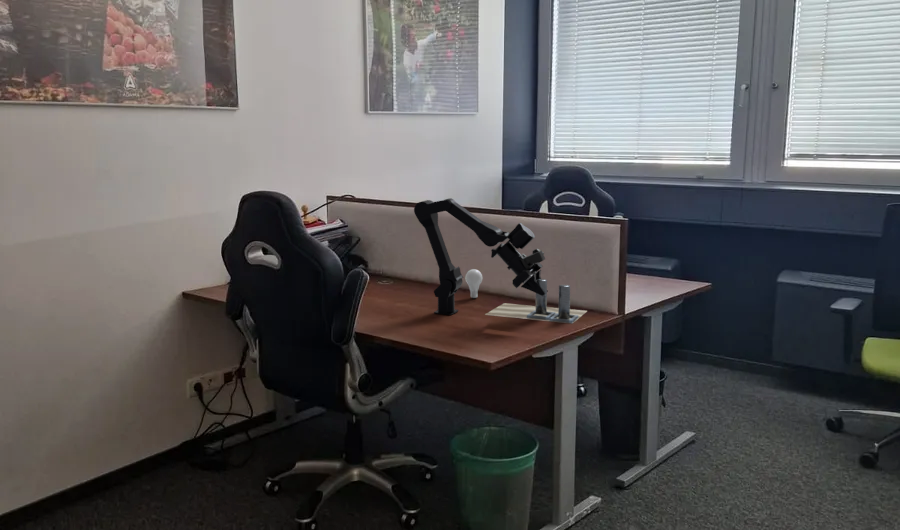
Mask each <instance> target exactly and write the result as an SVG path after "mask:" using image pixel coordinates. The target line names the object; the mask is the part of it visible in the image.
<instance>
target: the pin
mask: <svg viewBox="0 0 900 530" xmlns="http://www.w3.org/2000/svg"><path fill="white" fill-rule="evenodd" d="M536 281H537V282H538V284H539V285H540V287H541V288H542V289H543V291H544V293H545V295H543V296H542V295H539V294H537V293H535V306H536V314H546V313H547V307H548V305H547V304H548V292H547V290H548V279H545V278H541V279H536Z"/></svg>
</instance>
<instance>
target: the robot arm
mask: <svg viewBox="0 0 900 530" xmlns="http://www.w3.org/2000/svg"><path fill="white" fill-rule="evenodd" d="M442 212H447V213H448V214H449V215H451V216H452V217H453V218H455V219H456V220H458V221H459V222H460V223H462V224H463V225H464V226H466V227H468V228H469V229H470V230H471V231H473V232H474V233H475V235H476V236H477V238H478V239H479V240H480V241H481V242H482V243H483V244H484V245H485V246H487V247H491V250H490V251H491V258H492V259H493V258H495V257H497V256H498V257H499V258H500V259H501V261H503V262H504V263H505V265H507V266H506V268H507V269H508V271H510V270H511V271H512V272H513V273H514V274H515V275H516V276H515V277H514V278H513V279H512V285H513V287H515V289H518V288H519V287H520V288H523V289H525V290H529V291H530V292H533V293H535V294H536V293H537V294H539V295H542V296H543V295H545V293H544V291H543V289H542V288H541V287H540V285H539V284H538V282H537V281H536V279H542V277H541V273H542V268H543V267H544V266H543V265H542V264H541V262H543V261H544V260H546V257H545V252H544V251H543V250H542V249H539V248H536V249H533V250H532V253H531V254H529V255H526V254H525V253H520V252H519V249H521V250H523V249H525V248H526V247H527V245H528V244H530V243H531V242H532V241H533V240H534V239H535V238H536V235H535V234H534V232H533V231H532V229H530V228H529V227H527V226H525V225H524V224H523V223H522V222H520V223H518V224H517V225H516V226H515V228H513V229H512V230H511V231H510V232H509V231H503V230H502V229H501V228H499V227H497V226H496V225H494V224H491V223H489V222H485V221H483V220H482V219H480V218H479V217H477V216H476V215H475V214H473V213H472V212H470V211H469V210H467V209H466V208H465V207H464V206H462V205H461V204H459V203H458V202H456V201H455V200H454V199H453V198H446V199H445V198H444V199H443V200H438V201H432V200H430V199H426V200H422V201H419V202H417V203H416V204H415V205H414V208H413V213H414V215H415V217H416V218H417V221H418V222H419V224H420V225H422V227H423V228H424V230H425V232H426V234H427V235H426V236H427V237H428V241H429V243H430V246H431V250H432V251H433V255H434V257H435V260H436V264H437V266H438V279H439V285H438V286H437V287H436V288H435V289H434V291H433V293H434V296H435V297H436V298H437V310H435V311H433V313H434V314H438V315H446V316H452V315H454V314H455V313H457V312H459V309H455V305H456V304H455V302H456V301H455V294H456V293H457V292H458V289H460V287H462V285H463V278H464V276H463V275H462V273H461V267H460V266H456V267H455V266H454V264H453V262H452V261H451V258H450V254H449V252H448V249H447V246H446V243H445V241H444V238H443V235H442V232H441V229H440V226H439V214H438V213H442ZM507 240H508V241H507ZM505 241H506V243H503V242H505ZM498 244H499V245H498ZM494 246H497V247H496V248H492V247H494ZM547 293H548V289H547Z"/></svg>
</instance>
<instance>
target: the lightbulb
mask: <svg viewBox="0 0 900 530" xmlns="http://www.w3.org/2000/svg"><path fill="white" fill-rule="evenodd" d="M464 280H465V282H466V283H467V285H468V289H469V292H470V295H469V296H470V298H471V299H476V298H479V297H478V291H479V288H480V285H481V284H482V282H483V274H482V272H481V271H480V270H478V269H475V268H472V269H469V270H468V271H467V272H466V274H465V279H464Z"/></svg>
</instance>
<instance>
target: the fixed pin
mask: <svg viewBox="0 0 900 530" xmlns="http://www.w3.org/2000/svg"><path fill="white" fill-rule="evenodd" d="M558 308H559V311H558V319H569V320H570V309H571V285H569V284H559V285H558Z"/></svg>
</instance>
